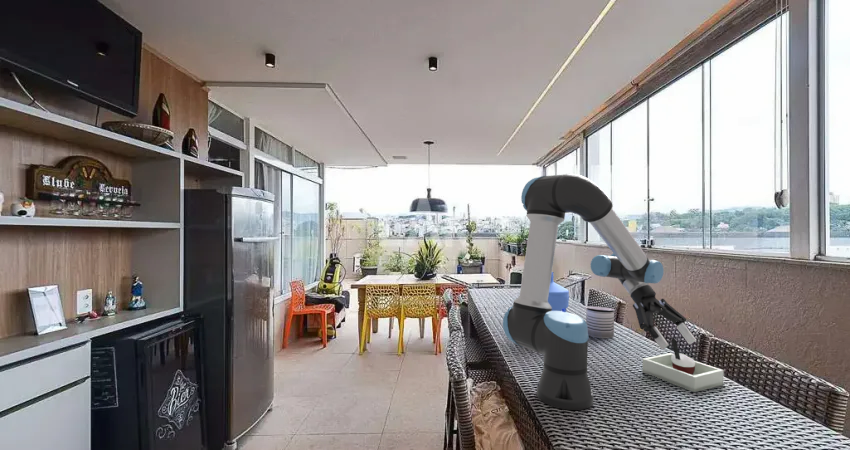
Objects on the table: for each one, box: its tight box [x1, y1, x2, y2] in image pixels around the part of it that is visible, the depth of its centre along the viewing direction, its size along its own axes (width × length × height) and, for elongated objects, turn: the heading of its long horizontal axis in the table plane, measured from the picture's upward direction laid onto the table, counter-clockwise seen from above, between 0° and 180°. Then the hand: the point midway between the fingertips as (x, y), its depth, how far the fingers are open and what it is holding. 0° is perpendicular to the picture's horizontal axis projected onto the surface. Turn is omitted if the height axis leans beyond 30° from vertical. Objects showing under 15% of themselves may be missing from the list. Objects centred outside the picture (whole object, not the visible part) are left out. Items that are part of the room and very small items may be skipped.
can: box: [585, 305, 615, 339], centre depth 179 cm, size 11×11×12 cm
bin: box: [641, 352, 725, 393], centre depth 131 cm, size 14×17×4 cm
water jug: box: [548, 271, 570, 312], centre depth 172 cm, size 16×16×28 cm
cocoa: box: [670, 337, 695, 375], centre depth 131 cm, size 10×6×12 cm, turn 90°
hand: (679, 344), depth 132 cm, fingers open, 13 cm apart
